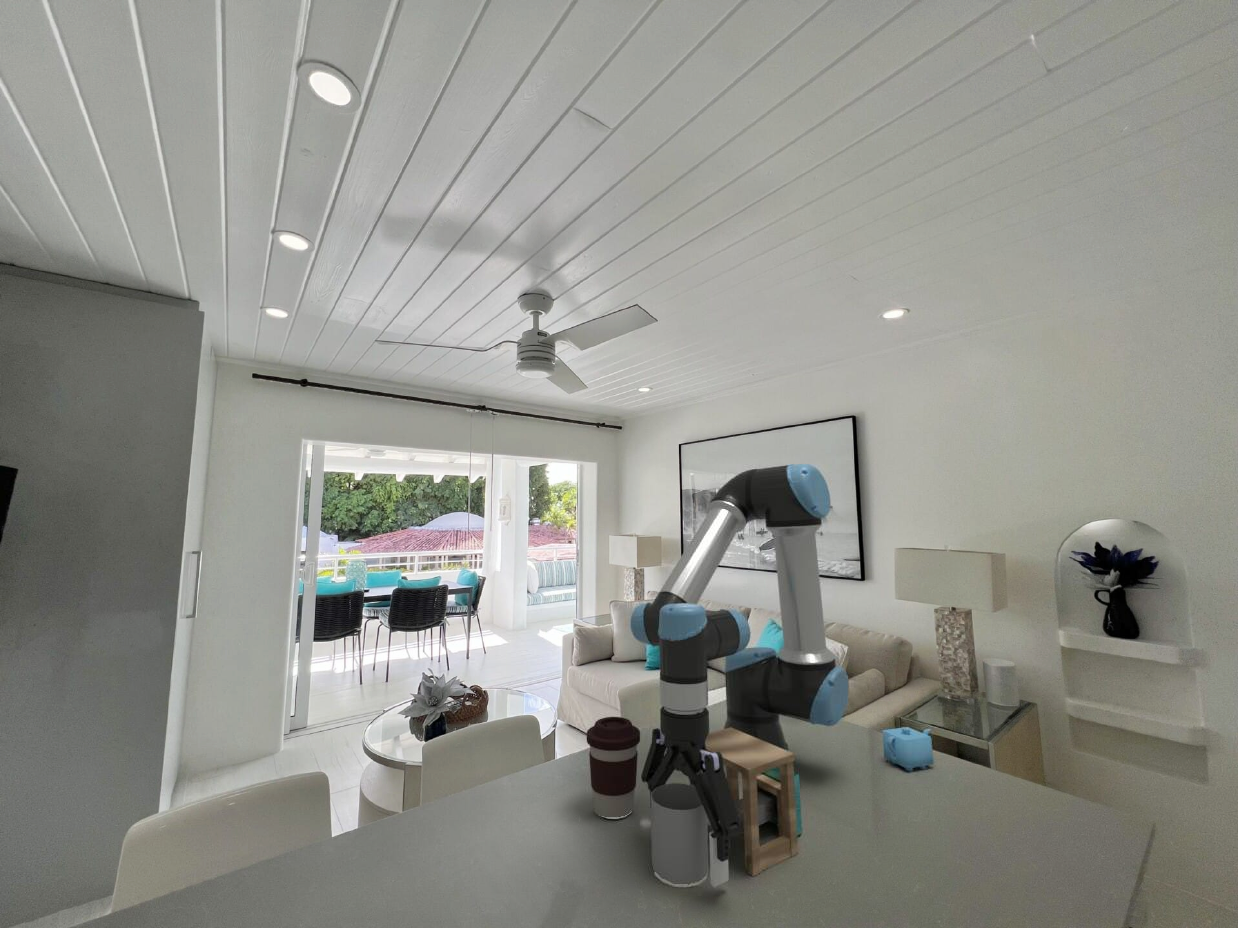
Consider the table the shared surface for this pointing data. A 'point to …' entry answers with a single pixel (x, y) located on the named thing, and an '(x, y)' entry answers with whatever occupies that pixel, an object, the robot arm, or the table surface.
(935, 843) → the table surface
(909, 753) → the teapot
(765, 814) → the grey and teal block
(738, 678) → the robot arm
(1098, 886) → the table surface
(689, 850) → the cup
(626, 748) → the coffee cup
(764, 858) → the wooden stool
